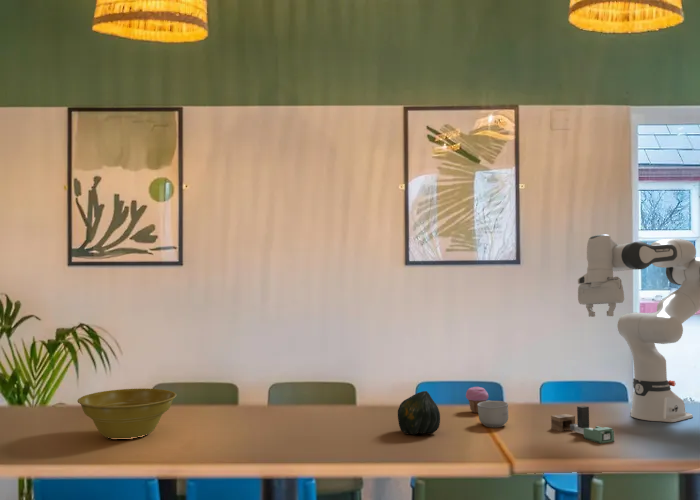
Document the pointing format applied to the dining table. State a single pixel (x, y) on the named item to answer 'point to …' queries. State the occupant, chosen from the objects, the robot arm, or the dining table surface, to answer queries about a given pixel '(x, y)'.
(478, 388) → the cupcake
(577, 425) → the two-tone rectangular rod
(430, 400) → the squash
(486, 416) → the teacup
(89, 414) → the planter bowl
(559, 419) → the socket block
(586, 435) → the green slotted block
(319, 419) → the dining table surface
